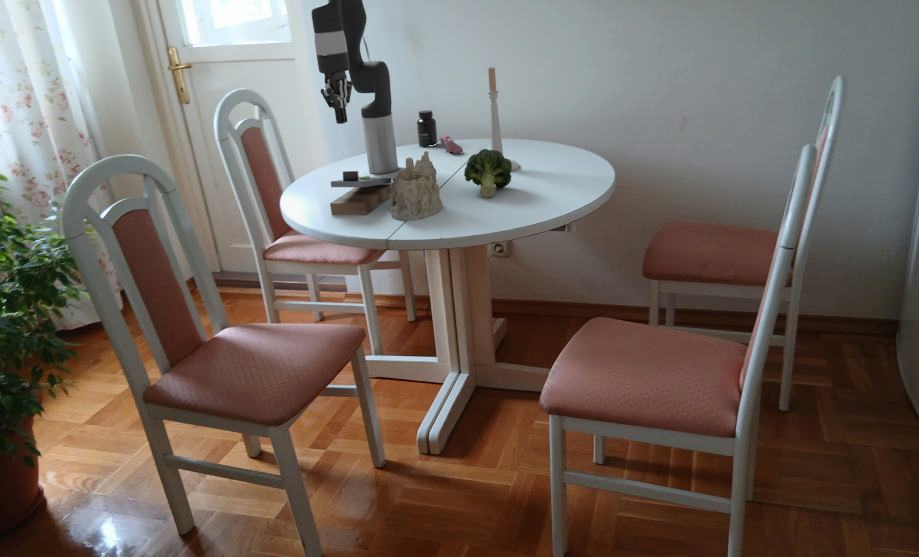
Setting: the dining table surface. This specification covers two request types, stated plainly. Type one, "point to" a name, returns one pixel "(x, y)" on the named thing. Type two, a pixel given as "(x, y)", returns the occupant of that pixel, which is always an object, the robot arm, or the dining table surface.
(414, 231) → the dining table surface
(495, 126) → the candlestick
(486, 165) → the vegetable
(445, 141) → the pink shoe
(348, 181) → the plate
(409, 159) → the miniature castle
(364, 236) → the dining table surface
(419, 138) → the supplement bottle
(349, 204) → the brown boxy piece
